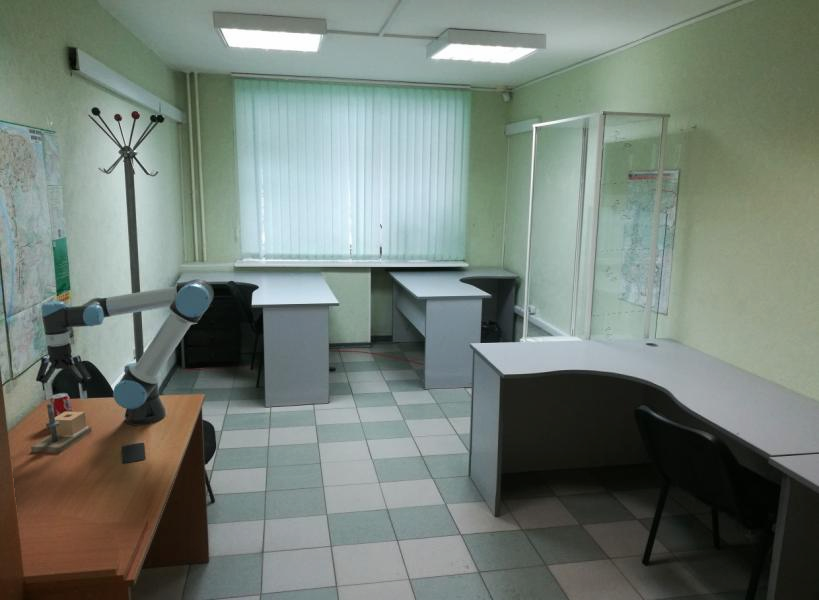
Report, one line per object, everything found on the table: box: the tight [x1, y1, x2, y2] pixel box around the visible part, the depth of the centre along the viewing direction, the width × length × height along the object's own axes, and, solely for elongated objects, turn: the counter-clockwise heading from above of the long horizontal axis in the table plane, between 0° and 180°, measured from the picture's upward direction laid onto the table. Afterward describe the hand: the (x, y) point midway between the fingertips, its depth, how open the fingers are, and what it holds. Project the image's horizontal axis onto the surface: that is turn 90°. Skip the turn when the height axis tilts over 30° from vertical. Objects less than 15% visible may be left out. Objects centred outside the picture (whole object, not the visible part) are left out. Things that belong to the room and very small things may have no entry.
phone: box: [121, 442, 146, 465], centre depth 209 cm, size 7×1×15 cm
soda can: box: [49, 392, 73, 417], centre depth 235 cm, size 7×7×12 cm
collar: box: [55, 411, 87, 435], centre depth 223 cm, size 8×8×6 cm
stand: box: [30, 403, 93, 454], centre depth 218 cm, size 11×18×16 cm, turn 175°
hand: (66, 399), depth 221 cm, fingers open, 13 cm apart
